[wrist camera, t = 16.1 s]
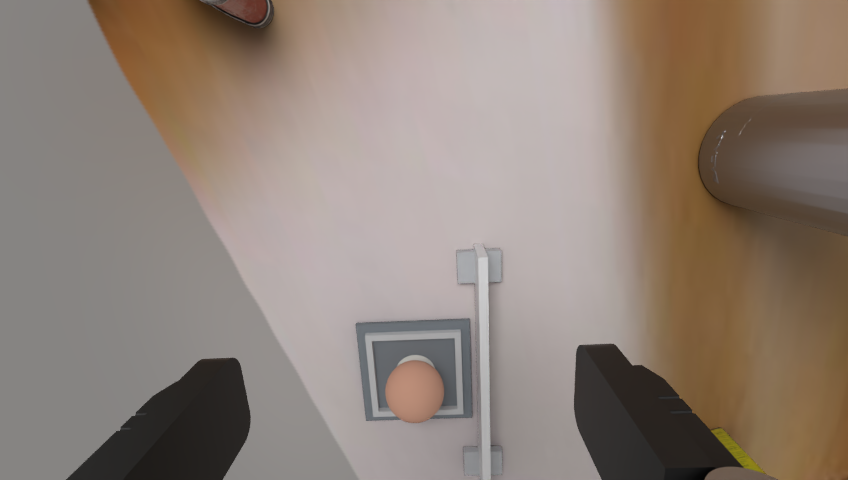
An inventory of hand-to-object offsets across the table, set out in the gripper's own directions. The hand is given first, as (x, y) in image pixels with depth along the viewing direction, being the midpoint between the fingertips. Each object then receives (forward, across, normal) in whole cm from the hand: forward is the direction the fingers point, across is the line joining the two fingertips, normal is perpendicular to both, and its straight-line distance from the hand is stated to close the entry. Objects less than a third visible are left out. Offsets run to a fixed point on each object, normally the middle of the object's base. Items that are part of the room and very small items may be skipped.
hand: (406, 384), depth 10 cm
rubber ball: (+25, +2, +18) cm, 31 cm away
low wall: (+28, -4, +18) cm, 34 cm away
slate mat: (+28, +2, +18) cm, 33 cm away
